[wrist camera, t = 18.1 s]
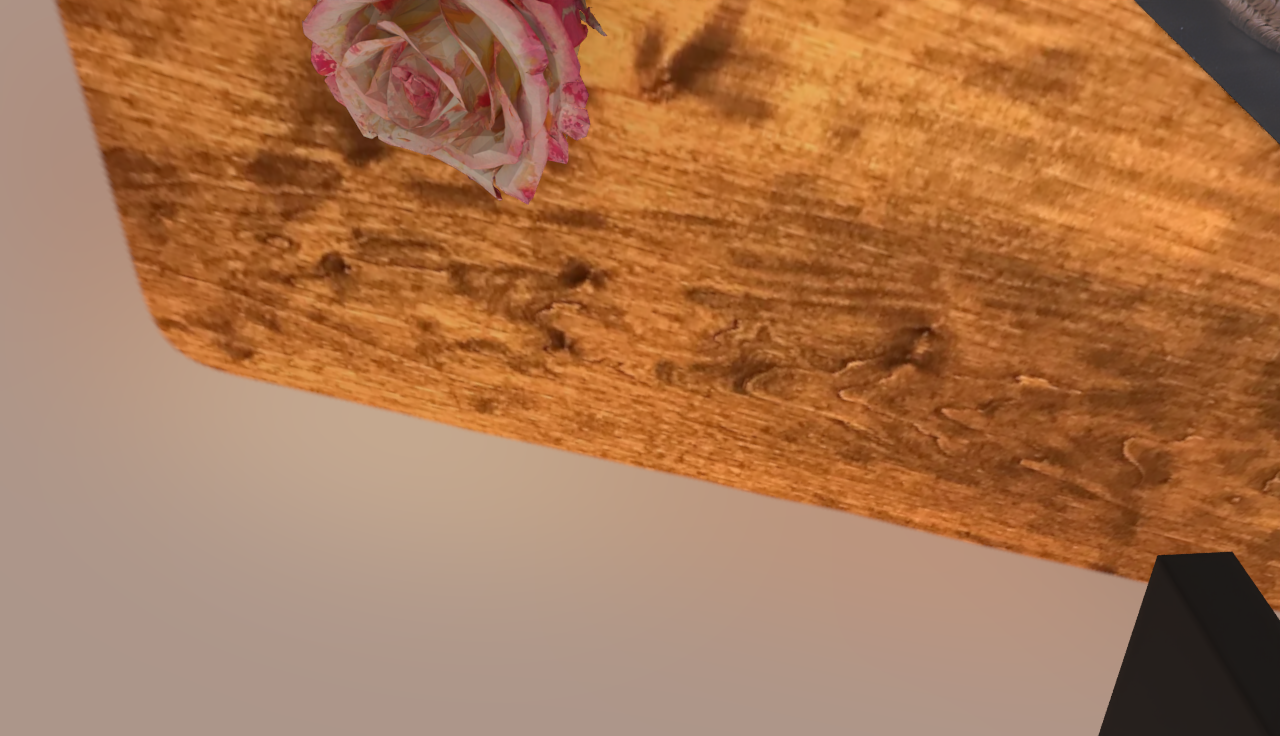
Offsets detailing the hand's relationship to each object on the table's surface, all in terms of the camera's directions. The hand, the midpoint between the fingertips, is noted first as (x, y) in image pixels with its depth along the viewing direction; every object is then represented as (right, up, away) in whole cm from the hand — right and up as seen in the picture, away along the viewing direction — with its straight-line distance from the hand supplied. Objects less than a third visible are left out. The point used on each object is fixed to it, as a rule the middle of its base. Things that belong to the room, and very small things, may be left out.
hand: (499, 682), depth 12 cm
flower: (-5, +15, +27) cm, 31 cm away
